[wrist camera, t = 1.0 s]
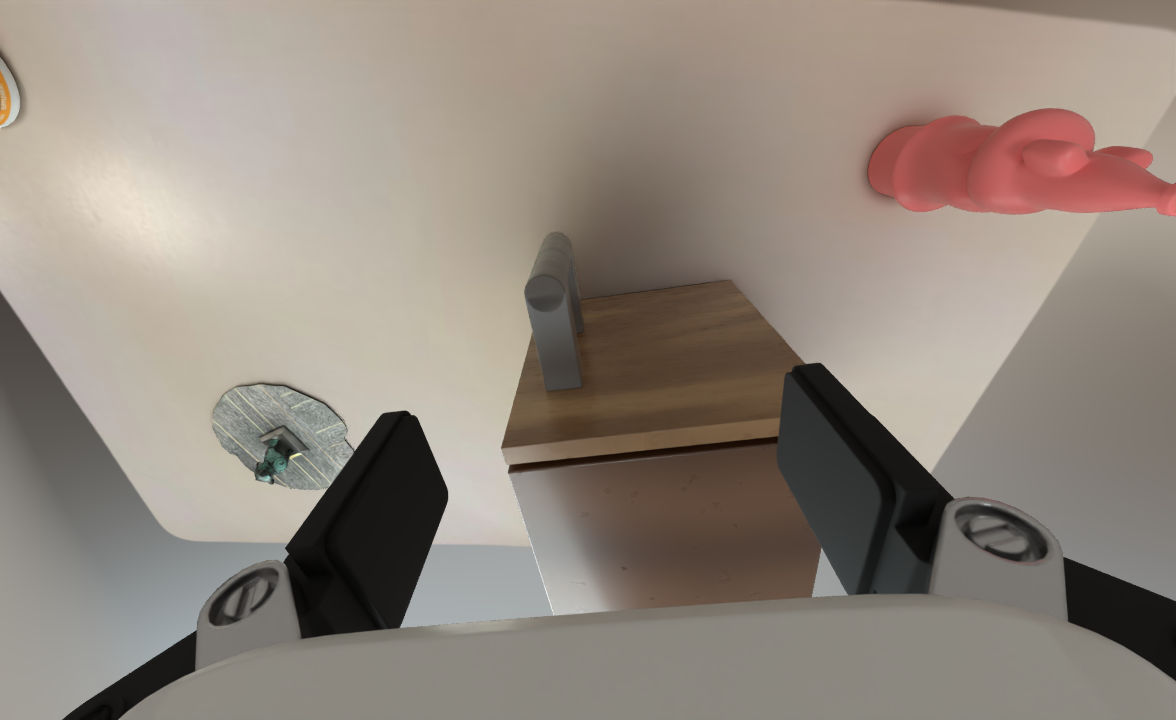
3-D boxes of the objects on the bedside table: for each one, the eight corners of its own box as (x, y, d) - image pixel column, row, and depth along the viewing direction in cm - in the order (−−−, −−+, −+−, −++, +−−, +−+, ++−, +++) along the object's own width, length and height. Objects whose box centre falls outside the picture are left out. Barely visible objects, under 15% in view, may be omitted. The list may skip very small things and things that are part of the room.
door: (522, 224, 28) (459, 319, 15) (732, 193, 27) (876, 263, 14) (542, 317, 32) (506, 465, 18) (730, 292, 31) (843, 430, 17)
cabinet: (543, 319, 32) (506, 472, 18) (729, 295, 31) (844, 437, 17) (568, 441, 38) (556, 627, 24) (726, 423, 37) (810, 607, 23)
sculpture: (334, 502, 42) (235, 536, 36) (301, 431, 45) (204, 451, 39) (372, 429, 37) (263, 454, 30) (331, 354, 40) (224, 362, 33)
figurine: (963, 117, 25) (1362, 110, 12) (923, 206, 28) (1218, 280, 15) (880, 108, 25) (1196, 93, 12) (847, 199, 28) (1078, 268, 15)
